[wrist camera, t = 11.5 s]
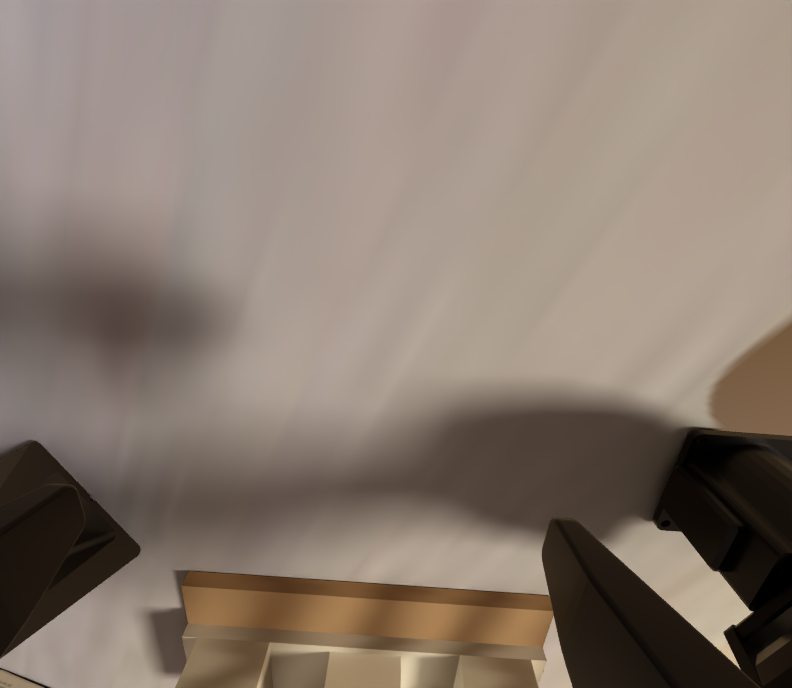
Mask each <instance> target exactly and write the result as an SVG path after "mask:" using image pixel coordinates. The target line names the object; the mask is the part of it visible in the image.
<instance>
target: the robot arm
mask: <svg viewBox="0 0 792 688" xmlns="http://www.w3.org/2000/svg"><path fill="white" fill-rule="evenodd" d="M699 439H700V440H699ZM698 440H699V441H698ZM653 522H654V524H655V525H656V526H657V528H658V529H660V530H666V531H680V532H682V533H683V534H684V535H685V537H686V538H687V539H688V540H689V542H690V543H691V544H692V545H693V547H694V548H695V549H696V551H697V552H698V553H699V554H700V556H701V557H702V558H703V559H704V561H705V562H706V563H707V565H708V566H709V567H710V568H711V569H712V570H713V571H719V572H720V574H721V575H722V576H723V577H724V579H725V580H726V581H727V582H728V584H729V585H730V586H731V587H732V589H733V590H734V591H735V592H736V594H737V595H738V596H739V597H740V599H741V600H742V601H743V602H744V604H745V605H746V606H747V607H748V609H749V610H750V611H754V612H752V613H751V614H750V615H749V616H747V617H746V618H745V619H744V620H742V621H741V622H740V623H739V624H737V625H731V626H730V627H729V628H728V629H726V630H725V631H724V635H725V637H726V639H727V641H728V644H729V646H730V648H731V650H732V652H733V654H734V656H735V658H736V660H737V662H738V664H739V667H740V669H741V670H740V669H739V668H738V667H737V666H736V665H735V664H734V663H733V662H732V661H730V660H729V659H728V658H727V657H726V656H725V655H724V654H723V653H722V652H721V651H719V650H718V649H717V648H716V647H715V646H714V645H713V644H712V643H711V642H710V641H708V640H707V639H706V638H705V637H704V636H703V635H702V634H701V633H700V632H699V631H697V630H696V629H695V628H694V627H693V626H692V625H691V624H690V623H689V622H688V621H686V620H685V619H684V618H683V617H682V616H681V615H680V614H679V613H678V612H677V611H675V610H674V609H673V608H672V607H671V606H670V605H669V604H668V603H667V602H666V601H664V600H663V599H662V598H661V597H660V596H659V595H658V594H657V593H656V592H655V591H653V590H652V589H651V588H650V587H649V586H648V585H647V584H646V583H645V582H644V581H642V580H641V579H640V578H639V577H638V576H637V575H636V574H635V573H634V572H633V571H631V570H630V569H629V568H628V567H627V566H626V565H625V564H624V563H623V562H622V561H620V560H619V559H618V558H617V557H616V556H615V555H614V554H613V553H612V552H611V551H609V550H608V549H607V548H606V547H605V546H604V545H603V544H602V543H601V542H600V541H598V540H597V539H596V538H595V537H594V536H593V535H592V534H591V533H590V532H589V531H587V530H586V529H585V528H584V527H583V526H582V525H581V524H580V523H579V522H577V521H576V520H574V519H569V518H553V519H552V520H551V521H550V523H549V527H548V530H547V533H546V537H545V540H544V544H543V548H542V562H543V567H544V571H545V576H546V581H547V585H548V590H549V595H550V600H551V604H552V609H553V614H554V618H555V623H556V628H557V632H558V637H559V641H560V645H561V650H562V653H563V657H564V660H565V664H566V667H567V670H568V674H569V677H570V680H571V683H572V686H573V688H792V436H783V435H769V434H756V433H742V432H729V431H715V430H702V429H699V430H694V431H692V432H691V433H689V434H688V436H687V438H686V440H685V443H684V445H683V447H682V450H681V452H680V454H679V457H678V459H677V462H676V464H675V466H674V469H673V471H672V473H671V476H670V478H669V481H668V483H667V485H666V488H665V490H664V492H663V495H662V497H661V499H660V502H659V504H658V507H657V509H656V511H655V514H654V516H653ZM84 524H85V514H84V511H83V507H82V504H81V501H80V497H79V494H78V491H77V489H76V488H75V487H74V486H73V485H69V484H54V483H53V484H47V485H44V486H42V487H40V488H38V489H36V490H33V491H31V492H29V493H27V494H25V495H23V496H20V497H18V498H16V499H14V500H12V501H10V502H7V503H5V504H3V505H1V506H0V658H1V656H2V655H3V654H4V652H5V651H6V649H7V648H8V647H9V645H10V644H11V643H12V641H13V640H14V638H15V637H16V636H17V634H18V633H19V631H20V630H21V629H22V627H23V626H24V624H25V623H26V621H27V620H28V618H29V617H30V615H31V614H32V612H33V611H34V609H35V608H36V606H37V604H38V603H39V601H40V600H41V598H42V596H43V595H44V593H45V591H46V590H47V588H48V587H49V585H50V583H51V582H52V580H53V578H54V577H55V575H56V573H57V572H58V570H59V568H60V567H61V565H62V563H63V562H64V560H65V558H66V557H67V555H68V554H69V552H70V550H71V549H72V547H73V545H74V544H75V542H76V540H77V539H78V537H79V535H80V534H81V532H82V530H83V527H84Z"/></svg>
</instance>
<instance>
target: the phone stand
mask: <svg viewBox="0 0 792 688" xmlns="http://www.w3.org/2000/svg"><path fill="white" fill-rule="evenodd" d="M53 483H54V484H69V485H73V486H74V487H75V488H76V489H77V491H78V494H79V497H80V501H81V504H82V507H83V511H84V514H85V524H84V527H83V530H82V532H81V534H80V535H79V537H78V539H77V540H76V542H75V544H74V545H73V547H72V549H71V550H70V552H69V554H68V555H67V557H66V558H65V560H64V562H63V563H62V565H61V567H60V568H59V570H58V572H57V573H56V575H55V577H54V578H53V580H52V582H51V583H50V585H49V587H48V588H47V590H46V591H45V593H44V595H43V596H42V598H41V600H40V601H39V603H38V604H37V606H36V608H35V609H34V611H33V612H32V614H31V615H30V617H29V618H28V620H27V621H26V623H25V624H24V626H23V627H22V629H21V630H20V631H19V633H18V634H17V636H16V637H15V638H14V640H13V641H12V643H11V644H10V645H9V647H8V648H7V649H6V651H5V652H4V654H3V655H2V656H1V658H2V657H3V656H5V655H6V654H7V653H9V652H10V651H11V650H13V649H14V648H15V647H17V646H18V645H19V644H21V643H22V642H23V641H25V640H26V639H27V638H29V637H30V636H31V635H33V634H34V633H35V632H37V631H38V630H39V629H41V628H42V627H43V626H45V625H46V624H47V623H49V622H50V621H51V620H53V619H54V618H55V617H57V616H58V615H59V614H61V613H62V612H63V611H65V610H66V609H67V608H69V607H70V606H71V605H73V604H74V603H75V602H77V601H78V600H79V599H81V598H82V597H83V596H85V595H86V594H87V593H89V592H90V591H91V590H93V589H94V588H95V587H97V586H98V585H99V584H101V583H102V582H103V581H105V580H106V579H107V578H109V577H110V576H111V575H113V574H114V573H115V572H117V571H118V570H119V569H121V568H122V567H123V566H125V565H126V564H127V563H129V562H130V561H131V560H133V559H134V558H135V557H137V556H138V555H139V553H140V546H139V545H138V544H137V543H136V542H135V541H134V540H133V539H132V538H131V537H130V536H129V535H128V534H127V533H126V532H125V531H124V530H123V529H122V528H121V527H120V526H119V525H118V523H117V522H116V521H115V520H114V519H113V518H112V517H111V516H110V515H109V514H108V513H107V512H106V511H105V510H104V509H103V508H102V507H101V506H100V505H99V504H98V503H97V502H96V501H91V500H90V495H89V493H88V492H87V491H86V490H85V489H84V488H83V487H82V486H81V485H80V484H79V483H78V482H77V481H76V480H75V479H74V478H73V477H72V476H71V475H70V474H69V473H68V472H67V471H66V470H65V469H64V468H63V467H62V466H61V465H60V463H59V462H58V461H57V460H56V459H55V458H54V457H53V456H52V455H51V454H50V453H49V452H48V451H47V450H46V449H45V448H44V447H43V446H42V445H41V444H40V443H37V442H35V443H31V444H29V445H27V446H25V447H23V448H21V449H19V450H16V451H14V452H12V453H10V454H8V455H6V456H4V457H1V458H0V506H1V505H3V504H5V503H7V502H10V501H12V500H14V499H16V498H18V497H20V496H23V495H25V494H27V493H29V492H31V491H33V490H36V489H38V488H40V487H42V486H44V485H47V484H53ZM1 658H0V659H1Z"/></svg>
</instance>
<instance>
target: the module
mask: <svg viewBox="0 0 792 688" xmlns="http://www.w3.org/2000/svg"><path fill="white" fill-rule="evenodd" d="M324 688H401V656H389V655H374V654H358V653H343V652H330V655H329V661H328V668H327V674H326V680H325V687H324Z"/></svg>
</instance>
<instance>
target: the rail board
mask: <svg viewBox="0 0 792 688" xmlns="http://www.w3.org/2000/svg"><path fill="white" fill-rule="evenodd" d="M181 589H182V594H183V599H184V605H185V610H186V615H187V621H188V625H187V627H186V629H185V631H184V633H183V635H182V641H183V646H184V650H185V655H186V660H187V663H186V665H185V667H184V669H183V672H182V674H181V676H180V678H179V681H178V683H177V685H176V687H175V688H324V687H325V680H326V674H327V668H328V661H329V655H330V652H343V653H358V654H374V655H389V656H401V688H538V684H539V681H540V678H541V676H542V673H543V670H544V667H545V664H546V661H547V660H546V657H545V654H544V650H543V645H544V642H545V639H546V636H547V633H548V630H549V627H550V624H551V621H552V618H553V615H554V614H553V609H552V604H551V600H550V596H544V595H530V594H515V593H501V592H486V591H471V590H457V589H442V588H428V587H413V586H399V585H384V584H370V583H355V582H341V581H326V580H312V579H297V578H282V577H268V576H253V575H239V574H224V573H210V572H195V571H189V572H188V574H187V576H186V578H185V579H184V581H183V583H182V585H181Z"/></svg>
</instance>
